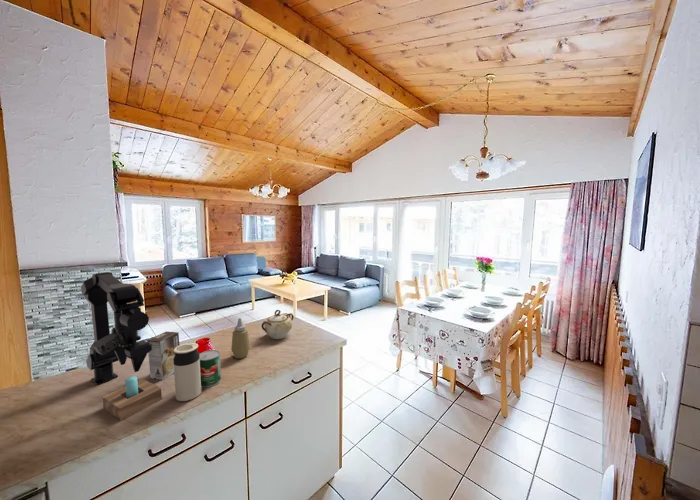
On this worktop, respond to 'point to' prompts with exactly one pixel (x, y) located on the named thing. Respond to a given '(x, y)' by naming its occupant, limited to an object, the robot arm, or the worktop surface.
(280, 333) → the sugar bowl
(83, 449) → the worktop surface
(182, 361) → the travel mug
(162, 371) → the coffee box
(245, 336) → the squeeze bottle
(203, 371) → the canned tomato
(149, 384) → the socket block
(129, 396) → the peg
